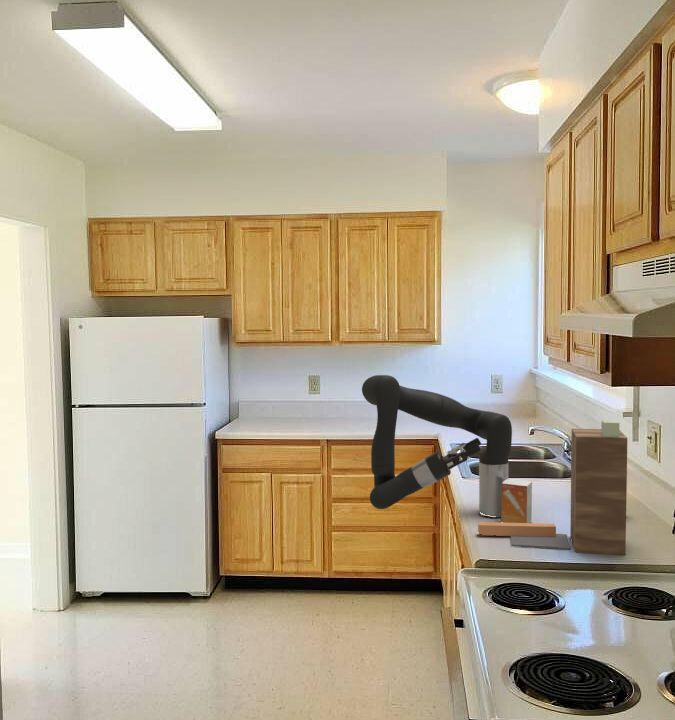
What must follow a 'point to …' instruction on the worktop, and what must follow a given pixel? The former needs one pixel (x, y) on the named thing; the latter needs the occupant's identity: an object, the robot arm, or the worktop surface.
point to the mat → (542, 542)
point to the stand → (598, 492)
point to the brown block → (517, 529)
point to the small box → (516, 501)
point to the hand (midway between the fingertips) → (479, 443)
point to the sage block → (610, 428)
